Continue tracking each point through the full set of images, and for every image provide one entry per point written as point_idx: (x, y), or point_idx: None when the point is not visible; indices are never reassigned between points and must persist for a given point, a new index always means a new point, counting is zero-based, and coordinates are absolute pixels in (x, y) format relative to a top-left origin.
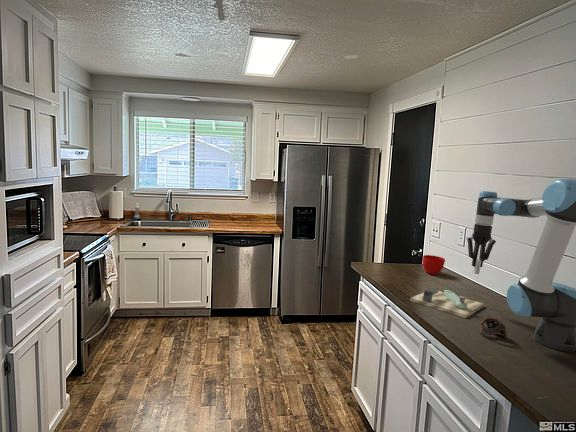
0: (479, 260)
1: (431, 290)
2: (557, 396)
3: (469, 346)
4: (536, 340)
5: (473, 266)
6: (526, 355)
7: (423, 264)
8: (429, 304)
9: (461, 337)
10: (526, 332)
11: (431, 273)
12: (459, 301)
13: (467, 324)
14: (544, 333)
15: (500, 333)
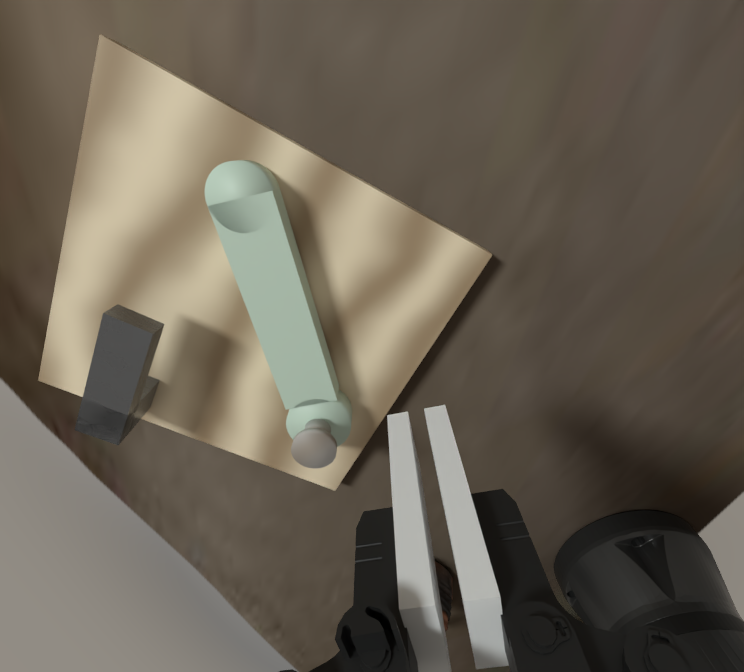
0: (480, 654)
1: (111, 385)
2: None
3: (319, 654)
4: (555, 571)
5: (392, 483)
6: (466, 647)
7: None
8: (160, 422)
9: (302, 621)
10: (561, 512)
11: None
12: (307, 406)
13: (335, 531)
14: (582, 620)
15: (440, 569)
